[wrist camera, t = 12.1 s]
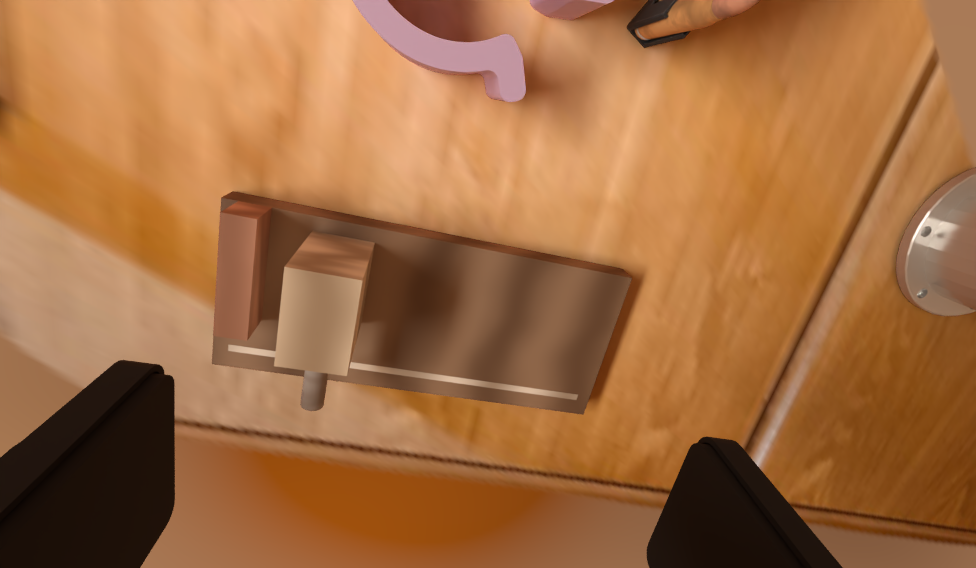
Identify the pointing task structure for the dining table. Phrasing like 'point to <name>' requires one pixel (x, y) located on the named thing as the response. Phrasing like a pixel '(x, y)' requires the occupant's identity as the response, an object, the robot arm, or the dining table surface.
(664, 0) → the ammunition clip
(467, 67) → the clip
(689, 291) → the dining table surface
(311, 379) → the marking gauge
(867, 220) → the dining table surface
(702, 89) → the dining table surface
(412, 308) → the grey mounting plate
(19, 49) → the dining table surface
